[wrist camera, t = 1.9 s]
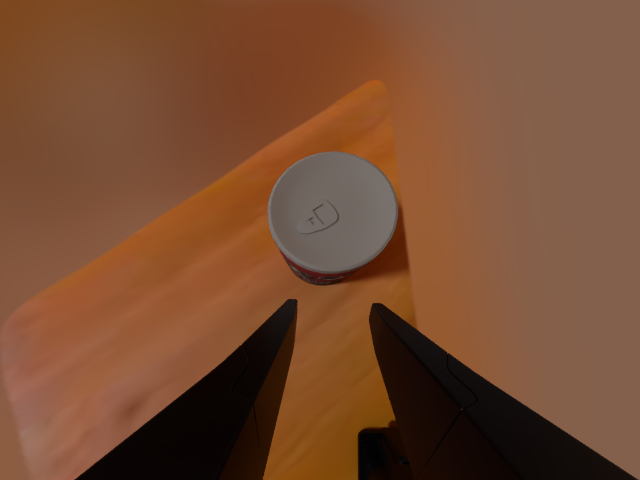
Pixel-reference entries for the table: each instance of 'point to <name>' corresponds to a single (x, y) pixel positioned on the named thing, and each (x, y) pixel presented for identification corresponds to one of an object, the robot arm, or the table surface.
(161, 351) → the table surface
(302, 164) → the canned food
